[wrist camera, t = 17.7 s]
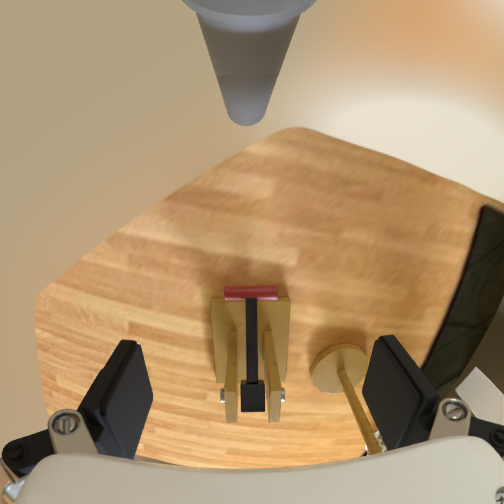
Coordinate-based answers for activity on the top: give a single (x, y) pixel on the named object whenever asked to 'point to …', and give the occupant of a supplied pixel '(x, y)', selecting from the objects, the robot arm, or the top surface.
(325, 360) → the table lamp
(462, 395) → the milk
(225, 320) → the switch bracket
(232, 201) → the top surface
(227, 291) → the switch lever
